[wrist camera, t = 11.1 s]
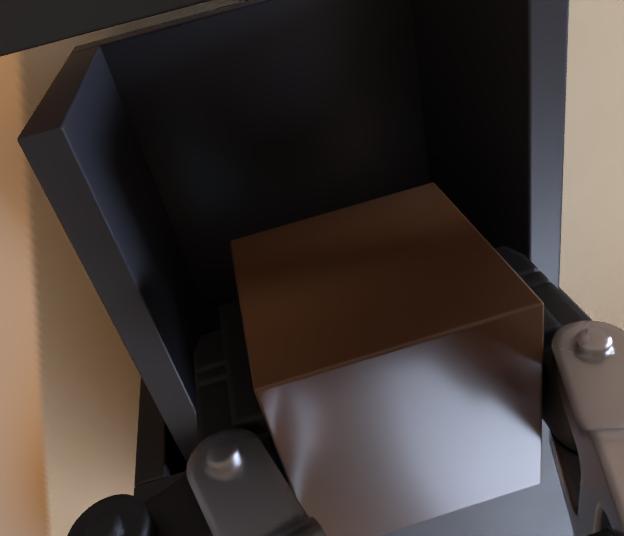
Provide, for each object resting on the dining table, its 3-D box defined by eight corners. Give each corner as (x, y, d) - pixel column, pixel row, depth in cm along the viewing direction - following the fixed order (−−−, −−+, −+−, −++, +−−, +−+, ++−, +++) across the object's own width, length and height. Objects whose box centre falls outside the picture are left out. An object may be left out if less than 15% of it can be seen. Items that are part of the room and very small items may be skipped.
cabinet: (145, 288, 22) (131, 514, 14) (467, 194, 22) (632, 358, 14) (255, 525, 30) (285, 747, 22) (485, 452, 31) (593, 643, 23)
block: (280, 389, 15) (316, 556, 11) (228, 240, 12) (253, 391, 9) (450, 338, 15) (542, 484, 11) (434, 180, 12) (546, 303, 9)
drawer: (-100, -283, 12) (-396, -479, 6) (418, -404, 13) (665, -702, 6) (190, 363, 23) (199, 547, 16) (468, 280, 23) (581, 426, 17)
